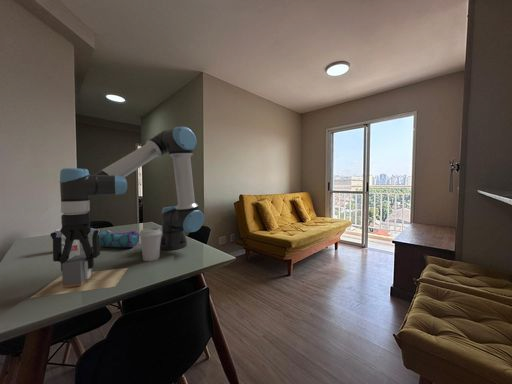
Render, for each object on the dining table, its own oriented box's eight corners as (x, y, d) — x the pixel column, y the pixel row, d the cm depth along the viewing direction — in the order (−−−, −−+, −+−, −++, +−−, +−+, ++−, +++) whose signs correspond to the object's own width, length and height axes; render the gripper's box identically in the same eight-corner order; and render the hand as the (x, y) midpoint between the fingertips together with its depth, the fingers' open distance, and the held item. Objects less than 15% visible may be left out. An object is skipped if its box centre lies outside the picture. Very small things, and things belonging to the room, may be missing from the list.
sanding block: (75, 277, 75) (74, 255, 74) (91, 275, 76) (91, 254, 76) (62, 287, 67) (61, 263, 67) (81, 285, 69) (80, 262, 68)
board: (128, 271, 84) (128, 267, 84) (114, 291, 68) (114, 286, 68) (61, 279, 77) (61, 275, 77) (30, 302, 62) (30, 297, 62)
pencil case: (95, 248, 113) (95, 231, 113) (108, 243, 122) (108, 227, 122) (129, 250, 111) (129, 232, 110) (140, 245, 119) (140, 229, 119)
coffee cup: (163, 263, 93) (163, 230, 92) (139, 267, 88) (138, 232, 87) (161, 256, 101) (161, 226, 100) (139, 259, 96) (139, 228, 96)
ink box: (77, 247, 114) (76, 226, 114) (77, 249, 111) (76, 228, 110) (56, 251, 109) (55, 229, 108) (55, 253, 105) (54, 230, 104)
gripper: (110, 210, 77) (112, 270, 78) (50, 212, 72) (52, 277, 72) (102, 213, 70) (104, 279, 71) (34, 215, 64) (37, 287, 65)
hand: (78, 278), depth 72 cm, fingers closed on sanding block, 5 cm apart
